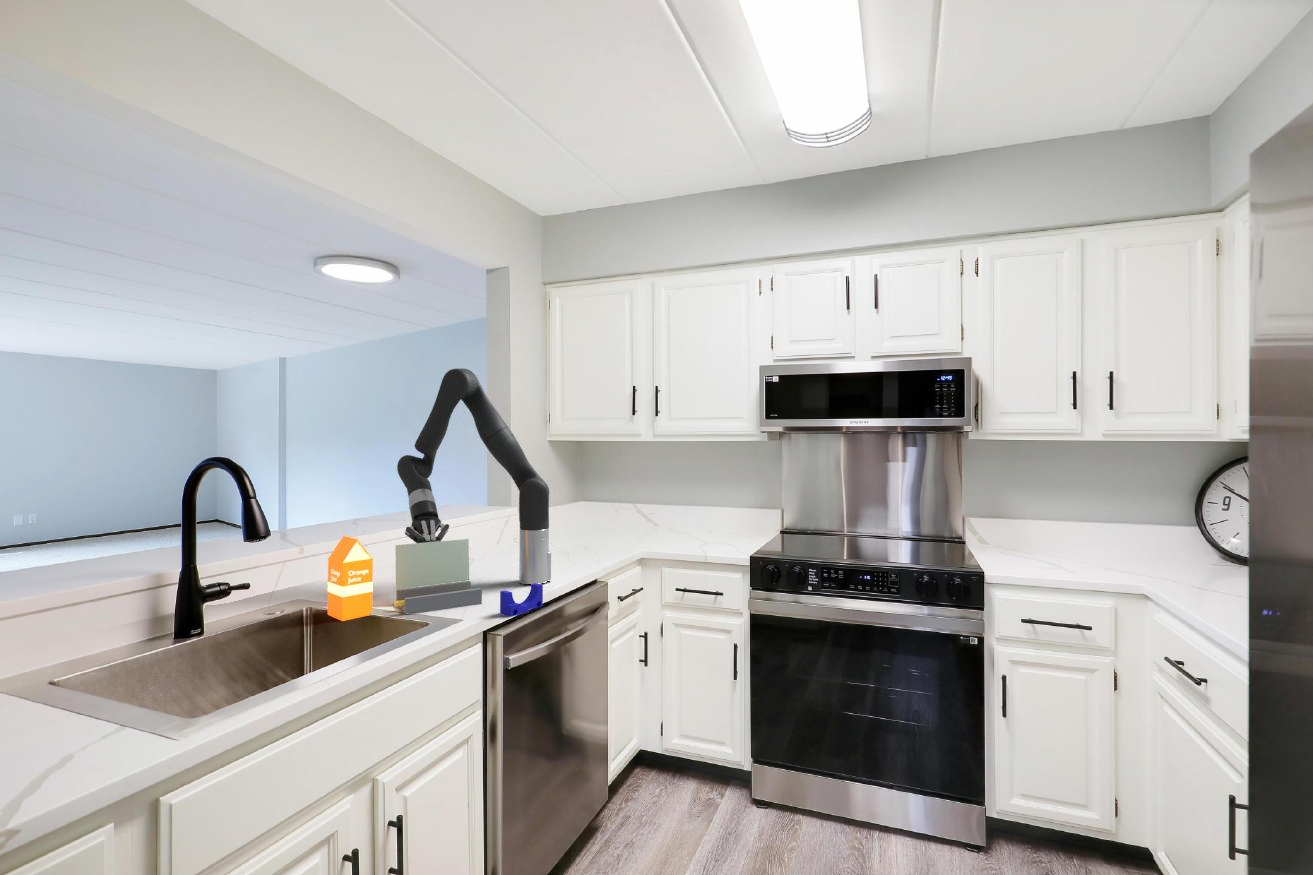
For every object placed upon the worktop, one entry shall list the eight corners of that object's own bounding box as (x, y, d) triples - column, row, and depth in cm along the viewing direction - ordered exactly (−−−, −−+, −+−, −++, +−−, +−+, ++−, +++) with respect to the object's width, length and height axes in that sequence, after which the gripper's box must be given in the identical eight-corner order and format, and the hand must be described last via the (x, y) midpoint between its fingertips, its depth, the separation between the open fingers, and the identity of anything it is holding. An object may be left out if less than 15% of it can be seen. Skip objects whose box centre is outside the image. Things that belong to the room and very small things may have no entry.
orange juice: (357, 608, 161) (358, 534, 161) (372, 614, 156) (373, 537, 156) (326, 614, 155) (327, 537, 155) (341, 621, 150) (342, 541, 150)
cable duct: (472, 593, 177) (472, 580, 177) (485, 602, 167) (485, 588, 167) (389, 605, 164) (389, 590, 164) (397, 615, 154) (398, 600, 154)
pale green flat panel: (469, 580, 176) (468, 579, 177) (468, 539, 177) (467, 538, 178) (396, 589, 165) (395, 588, 166) (396, 545, 166) (395, 545, 167)
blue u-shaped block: (511, 617, 154) (511, 594, 154) (500, 614, 157) (500, 591, 157) (546, 607, 164) (546, 585, 164) (535, 604, 166) (535, 583, 166)
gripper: (401, 500, 177) (410, 548, 167) (447, 498, 185) (458, 543, 174) (398, 516, 182) (406, 563, 171) (442, 513, 189) (453, 558, 179)
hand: (432, 553), depth 173 cm, fingers closed
